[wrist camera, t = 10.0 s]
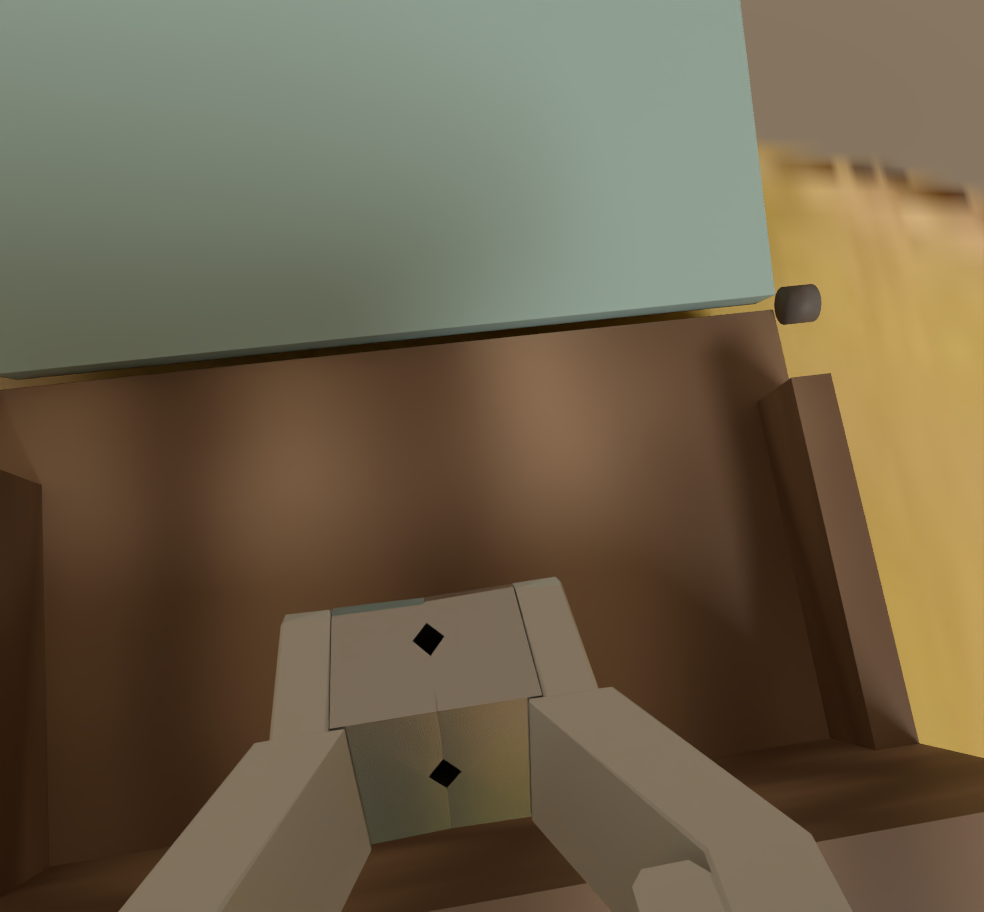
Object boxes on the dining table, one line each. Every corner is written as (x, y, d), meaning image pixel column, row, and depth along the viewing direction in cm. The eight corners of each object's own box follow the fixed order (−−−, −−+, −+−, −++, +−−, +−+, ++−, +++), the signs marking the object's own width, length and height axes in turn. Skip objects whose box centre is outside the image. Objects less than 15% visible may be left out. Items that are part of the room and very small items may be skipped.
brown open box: (24, 977, 19) (-399, 1339, 9) (17, 409, 22) (-310, 234, 12) (869, 826, 21) (1235, 989, 12) (759, 329, 24) (978, 129, 15)
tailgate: (-9, 374, 19) (-55, -2, 19) (24, 381, 20) (-18, 35, 20) (774, 294, 21) (734, -45, 21) (748, 306, 22) (711, -9, 22)
